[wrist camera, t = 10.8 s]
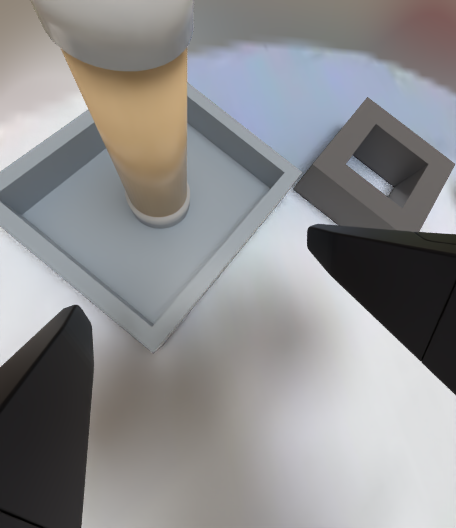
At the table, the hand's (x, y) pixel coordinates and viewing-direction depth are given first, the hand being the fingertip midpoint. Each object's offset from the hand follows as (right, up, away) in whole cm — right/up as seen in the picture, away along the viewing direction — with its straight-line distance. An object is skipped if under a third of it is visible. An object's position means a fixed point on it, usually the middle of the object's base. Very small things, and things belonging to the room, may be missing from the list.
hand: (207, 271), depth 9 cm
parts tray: (-5, +5, +10) cm, 12 cm away
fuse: (-4, +5, +9) cm, 11 cm away
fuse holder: (+13, +8, +14) cm, 21 cm away
